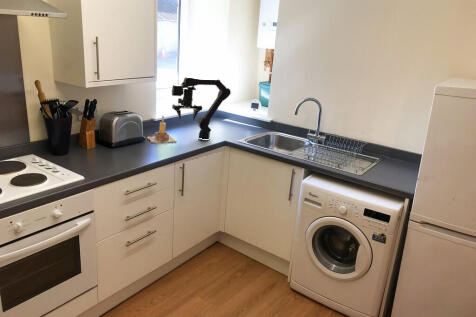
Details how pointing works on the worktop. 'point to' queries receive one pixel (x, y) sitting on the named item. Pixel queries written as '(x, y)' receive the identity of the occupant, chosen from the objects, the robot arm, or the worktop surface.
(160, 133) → the orange tapered piece
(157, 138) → the beige board with box
